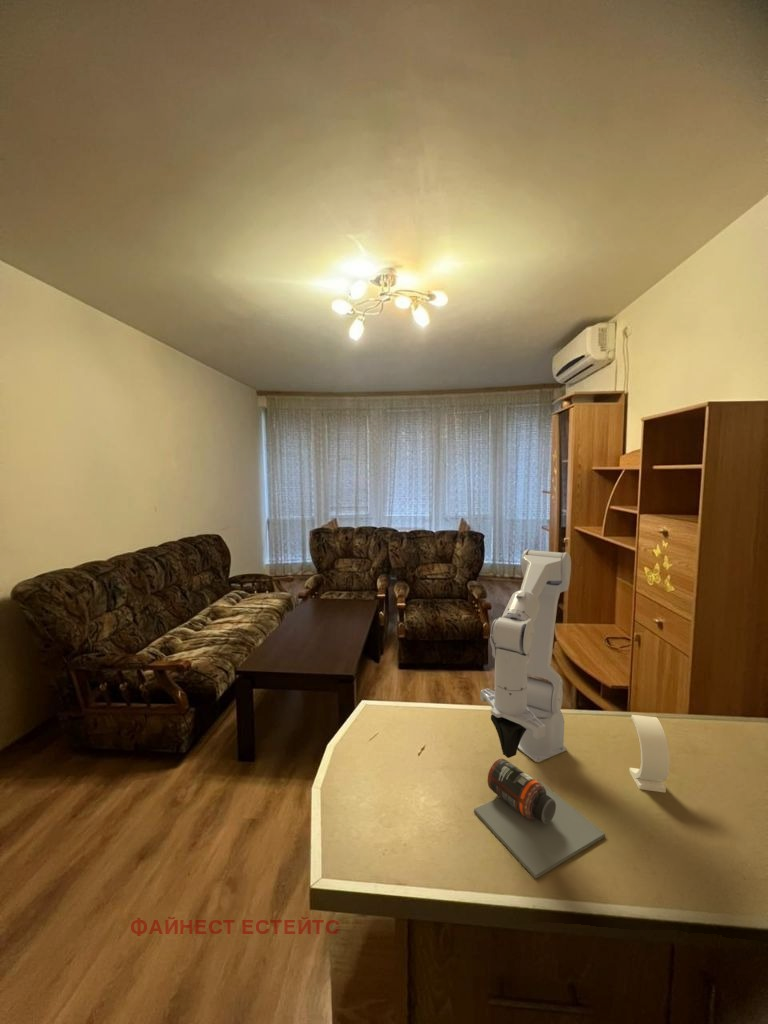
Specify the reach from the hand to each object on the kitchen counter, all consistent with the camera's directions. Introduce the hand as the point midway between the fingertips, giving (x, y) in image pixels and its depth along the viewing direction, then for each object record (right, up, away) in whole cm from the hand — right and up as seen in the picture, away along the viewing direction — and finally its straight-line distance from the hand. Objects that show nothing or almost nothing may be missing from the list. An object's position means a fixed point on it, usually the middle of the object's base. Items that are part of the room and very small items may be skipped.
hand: (509, 754), depth 76 cm
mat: (+3, -9, -5) cm, 11 cm away
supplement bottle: (-2, -5, +2) cm, 6 cm away
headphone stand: (+28, -8, +4) cm, 30 cm away
